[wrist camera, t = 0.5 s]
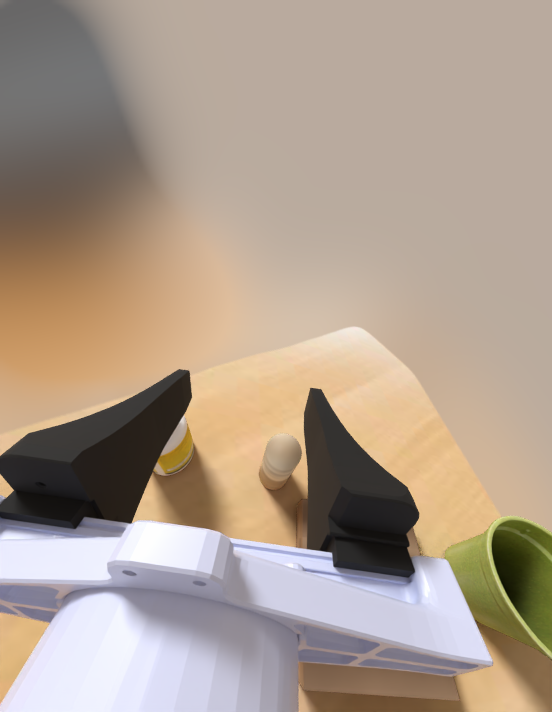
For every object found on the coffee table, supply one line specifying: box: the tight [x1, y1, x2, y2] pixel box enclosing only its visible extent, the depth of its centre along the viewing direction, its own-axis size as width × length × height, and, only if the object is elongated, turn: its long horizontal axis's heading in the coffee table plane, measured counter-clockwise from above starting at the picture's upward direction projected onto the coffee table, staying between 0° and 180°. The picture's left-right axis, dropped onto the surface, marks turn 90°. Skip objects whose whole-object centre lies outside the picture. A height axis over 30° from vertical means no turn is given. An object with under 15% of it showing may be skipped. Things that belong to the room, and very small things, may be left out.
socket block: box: [296, 499, 460, 701], centre depth 22 cm, size 12×12×3 cm
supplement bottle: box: [153, 416, 194, 476], centre depth 25 cm, size 5×5×10 cm
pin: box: [259, 433, 302, 490], centre depth 26 cm, size 4×4×8 cm
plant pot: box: [445, 516, 552, 660], centre depth 21 cm, size 9×9×9 cm
